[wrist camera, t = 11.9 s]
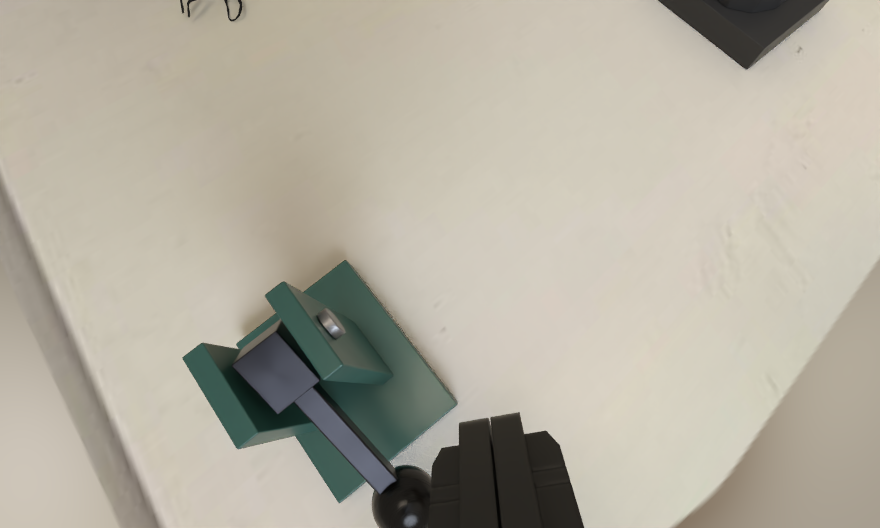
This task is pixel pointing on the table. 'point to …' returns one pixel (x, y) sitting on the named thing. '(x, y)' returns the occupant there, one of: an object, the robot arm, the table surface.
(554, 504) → the robot arm
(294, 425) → the lever base
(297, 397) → the control lever
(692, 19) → the control block
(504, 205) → the table surface
